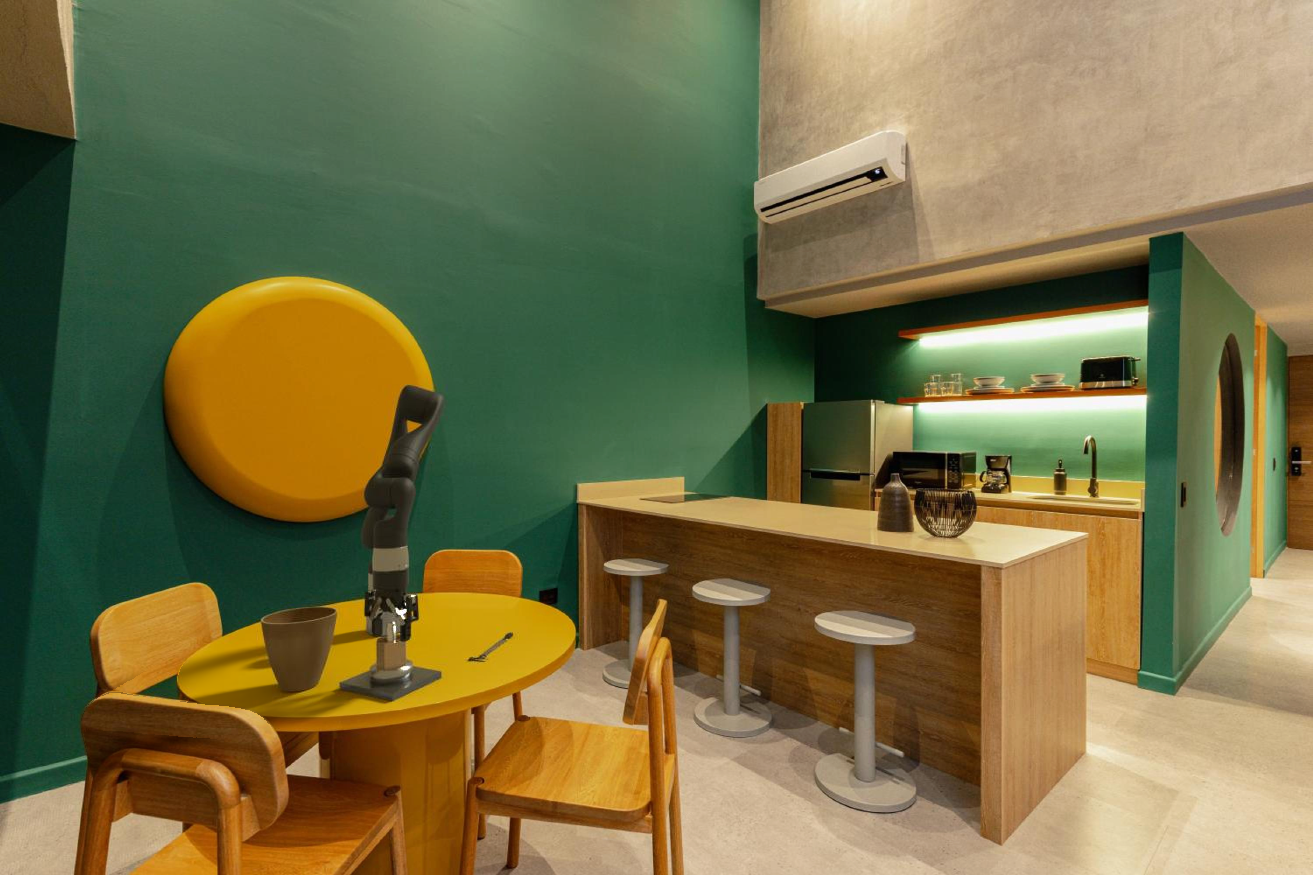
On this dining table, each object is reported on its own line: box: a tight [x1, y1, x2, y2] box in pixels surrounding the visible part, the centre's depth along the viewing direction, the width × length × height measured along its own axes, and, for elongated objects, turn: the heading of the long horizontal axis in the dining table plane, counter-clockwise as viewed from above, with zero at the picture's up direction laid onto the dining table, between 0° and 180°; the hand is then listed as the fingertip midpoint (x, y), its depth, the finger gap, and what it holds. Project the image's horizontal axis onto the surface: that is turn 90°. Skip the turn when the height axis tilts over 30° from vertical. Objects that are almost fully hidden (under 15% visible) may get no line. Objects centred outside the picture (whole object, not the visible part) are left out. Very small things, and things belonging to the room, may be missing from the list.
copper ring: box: [375, 633, 407, 671], centre depth 140 cm, size 6×6×6 cm
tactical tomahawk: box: [468, 631, 514, 663], centre depth 163 cm, size 21×7×1 cm, turn 166°
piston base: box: [338, 621, 443, 702], centre depth 140 cm, size 16×14×14 cm
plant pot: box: [260, 606, 338, 693], centre depth 139 cm, size 15×15×16 cm
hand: (391, 638), depth 140 cm, fingers open, 8 cm apart
